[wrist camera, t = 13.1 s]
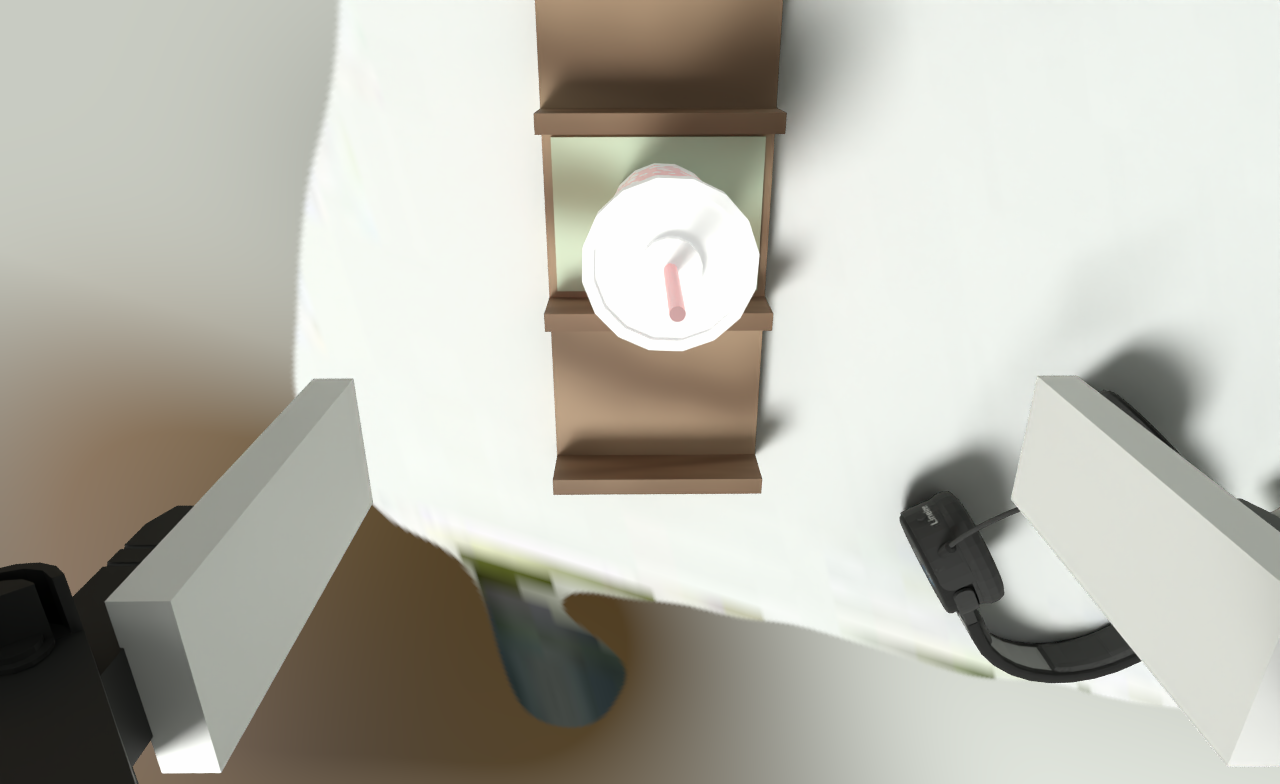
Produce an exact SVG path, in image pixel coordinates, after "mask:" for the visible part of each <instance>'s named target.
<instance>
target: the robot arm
mask: <svg viewBox="0 0 1280 784" xmlns="http://www.w3.org/2000/svg"><path fill="white" fill-rule="evenodd" d="M1011 500H1012V501H1013V503H1014V504H1015V505H1016V506H1017V508H1018V509H1019V510H1020V511H1021V512H1022V514H1023V515H1024V516H1025V517H1026V519H1027V520H1028V521H1029V522H1030V524H1031V525H1032V526H1033V527H1034V529H1035V530H1036V531H1037V532H1038V534H1039V535H1040V536H1041V537H1042V538H1043V540H1044V541H1045V542H1046V543H1047V545H1048V546H1049V547H1050V548H1051V550H1052V551H1053V552H1054V553H1055V555H1056V556H1057V557H1058V558H1059V559H1060V561H1061V562H1062V563H1063V564H1064V566H1065V567H1066V568H1067V569H1068V571H1069V572H1070V573H1071V574H1072V576H1073V577H1074V578H1075V579H1076V580H1077V582H1078V583H1079V584H1080V585H1081V587H1082V588H1083V589H1084V590H1085V592H1086V593H1087V594H1088V595H1089V597H1090V598H1091V599H1092V600H1093V602H1094V603H1095V604H1096V605H1097V606H1098V608H1099V609H1100V610H1101V611H1102V613H1103V614H1104V615H1105V616H1106V618H1107V619H1108V620H1109V621H1110V623H1111V624H1112V625H1113V626H1114V627H1115V629H1116V630H1117V631H1118V632H1119V634H1120V635H1121V636H1122V637H1123V639H1124V640H1125V641H1126V642H1127V644H1128V645H1129V646H1130V647H1131V648H1132V650H1133V651H1134V652H1135V653H1136V655H1137V656H1138V657H1139V658H1140V660H1141V661H1142V662H1143V663H1144V665H1145V666H1146V667H1147V668H1148V669H1149V671H1150V672H1151V673H1152V674H1153V676H1154V677H1155V678H1156V679H1157V681H1158V682H1159V683H1160V684H1161V686H1162V687H1163V688H1164V689H1165V691H1166V692H1167V693H1168V694H1169V695H1170V697H1171V698H1172V699H1173V700H1174V702H1175V703H1176V704H1177V705H1178V707H1179V708H1180V709H1181V710H1182V712H1183V713H1184V714H1185V715H1186V716H1187V718H1188V719H1189V720H1190V721H1191V723H1192V724H1193V725H1194V726H1195V728H1196V729H1197V730H1198V731H1199V733H1200V734H1201V735H1202V736H1203V737H1204V739H1205V740H1206V741H1207V742H1208V744H1209V745H1210V746H1211V747H1212V749H1213V750H1214V751H1215V752H1216V754H1217V755H1218V756H1219V757H1220V759H1221V760H1222V761H1223V762H1224V763H1225V765H1226V766H1227V767H1260V766H1262V767H1265V766H1266V767H1267V766H1280V518H1279V517H1278V516H1276V515H1274V514H1272V513H1270V512H1268V511H1266V510H1264V509H1262V508H1259V507H1257V506H1255V505H1253V504H1251V503H1249V502H1247V501H1245V500H1243V499H1236V498H1235V497H1234V496H1232V495H1231V494H1230V493H1228V492H1227V491H1226V490H1225V489H1223V488H1222V487H1221V486H1219V485H1218V484H1217V483H1216V482H1214V481H1213V480H1212V479H1210V478H1209V477H1208V476H1206V475H1205V474H1204V473H1203V472H1201V471H1200V470H1199V469H1197V468H1196V467H1195V466H1193V465H1192V464H1191V463H1190V462H1188V461H1187V460H1186V459H1184V458H1183V457H1182V456H1181V455H1179V454H1178V453H1177V452H1175V451H1174V450H1173V449H1171V448H1170V447H1169V446H1168V445H1166V444H1165V443H1164V442H1162V441H1161V440H1160V439H1158V438H1157V437H1156V436H1155V435H1153V434H1152V433H1151V432H1149V431H1148V430H1147V429H1145V428H1144V427H1143V426H1142V425H1140V424H1139V423H1138V422H1136V421H1135V420H1134V419H1133V418H1131V417H1130V416H1129V415H1127V414H1126V413H1125V412H1123V411H1122V410H1121V409H1120V408H1118V407H1117V406H1116V405H1114V404H1113V403H1112V402H1110V401H1109V400H1108V399H1107V398H1105V397H1104V396H1103V395H1101V394H1100V393H1099V392H1098V391H1096V390H1095V389H1094V388H1092V387H1091V386H1090V385H1088V384H1087V383H1086V382H1085V381H1083V380H1082V379H1081V378H1079V377H1078V376H1037V379H1036V384H1035V389H1034V393H1033V398H1032V403H1031V407H1030V412H1029V417H1028V421H1027V426H1026V431H1025V435H1024V440H1023V445H1022V449H1021V454H1020V459H1019V463H1018V468H1017V473H1016V477H1015V482H1014V487H1013V491H1012V496H1011ZM372 503H373V499H372V493H371V487H370V480H369V474H368V468H367V461H366V455H365V449H364V443H363V436H362V430H361V424H360V417H359V411H358V405H357V399H356V392H355V386H354V380H353V379H313V380H312V381H311V382H310V383H309V384H308V385H307V386H306V387H305V388H304V389H303V390H302V391H301V392H300V394H299V395H298V396H297V397H296V398H295V399H294V400H293V401H292V402H291V403H290V404H289V405H288V406H287V407H286V408H285V410H284V411H283V412H282V413H281V414H280V415H279V416H278V417H277V418H276V419H275V420H274V421H273V422H272V423H271V425H270V426H269V427H268V428H267V429H266V430H265V431H264V432H263V433H262V434H261V435H260V436H259V437H258V438H257V439H256V441H255V442H254V443H253V444H252V445H251V446H250V447H249V448H248V449H247V450H246V451H245V452H244V453H243V455H241V457H240V458H239V459H238V460H237V461H236V462H235V463H234V464H233V465H232V466H231V467H230V468H229V469H228V470H227V472H226V473H225V474H224V475H223V476H222V477H221V478H220V479H219V480H218V481H217V482H216V483H215V484H214V485H213V486H212V488H211V489H210V490H209V491H208V492H207V493H206V494H205V495H204V496H203V497H202V498H201V499H200V500H199V501H198V502H197V503H196V505H195V506H176V507H174V508H172V509H171V510H169V511H167V512H165V513H164V514H162V515H160V516H159V517H157V518H155V519H153V520H152V521H150V522H148V523H147V524H145V525H144V526H143V527H142V528H141V529H140V530H139V531H138V532H137V533H136V534H135V535H134V536H133V537H132V538H131V539H130V540H129V541H128V542H127V543H126V544H125V548H124V549H120V550H119V551H118V552H117V553H116V554H115V555H114V556H113V557H112V558H111V559H110V560H109V561H108V562H107V567H102V568H101V569H100V570H99V571H98V572H97V573H96V574H95V575H94V576H93V577H92V578H91V579H90V580H89V581H88V582H87V583H86V584H85V585H84V586H83V587H82V588H81V589H80V590H79V591H78V592H77V593H76V594H75V595H74V596H73V597H72V595H71V592H70V589H69V586H68V583H67V581H66V578H65V575H64V574H63V572H62V571H61V570H59V568H57V566H54V565H49V564H44V563H28V564H27V563H26V564H15V565H11V566H7V567H2V568H0V784H138V781H137V778H136V775H135V772H134V770H133V765H134V764H135V762H136V761H137V759H138V758H139V756H140V755H141V754H142V752H143V751H144V749H145V748H146V746H147V745H148V743H149V742H150V740H151V742H152V745H153V747H154V751H155V754H156V757H157V760H158V762H159V766H160V769H161V771H162V773H221V772H222V770H223V768H224V767H225V765H226V763H227V761H228V759H229V758H230V756H231V754H232V752H233V751H234V749H235V747H236V745H237V744H238V742H239V740H240V738H241V736H242V735H243V733H244V731H245V729H246V727H247V726H248V724H249V722H250V720H251V719H252V717H253V715H254V713H255V711H256V710H257V708H258V706H259V704H260V703H261V701H262V699H263V697H264V695H265V694H266V692H267V690H268V688H269V686H270V685H271V683H272V681H273V679H274V678H275V676H276V674H277V672H278V671H279V669H280V667H281V665H282V663H283V661H284V660H285V658H286V656H287V654H288V653H289V651H290V649H291V647H292V645H293V644H294V642H295V640H296V638H297V637H298V635H299V633H300V631H301V630H302V627H303V626H304V624H305V622H306V621H307V619H308V617H309V615H310V614H311V612H312V610H313V608H314V606H315V605H316V603H317V601H318V599H319V597H320V596H321V594H322V592H323V590H324V589H325V587H326V585H327V583H328V581H329V580H330V578H331V576H332V574H333V573H334V571H335V569H336V567H337V565H338V564H339V562H340V560H341V558H342V557H343V555H344V553H345V551H346V549H347V548H348V546H349V544H350V542H351V541H352V539H353V537H354V535H355V533H356V532H357V530H358V528H359V526H360V524H361V523H362V521H363V519H364V517H365V515H366V514H367V512H368V510H369V508H370V507H371V505H372Z"/></svg>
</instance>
